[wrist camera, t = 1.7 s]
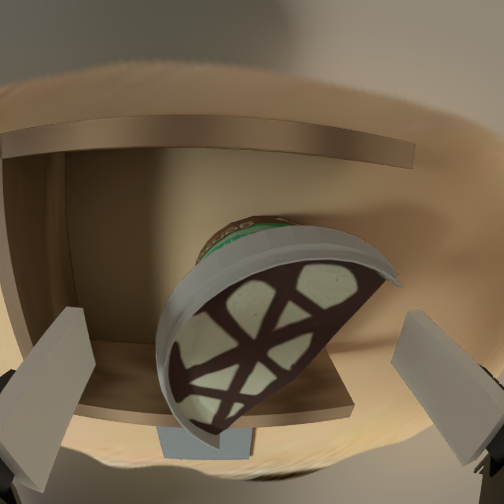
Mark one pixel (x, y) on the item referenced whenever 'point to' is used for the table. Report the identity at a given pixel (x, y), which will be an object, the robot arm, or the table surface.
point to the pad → (188, 447)
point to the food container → (257, 315)
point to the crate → (60, 268)
